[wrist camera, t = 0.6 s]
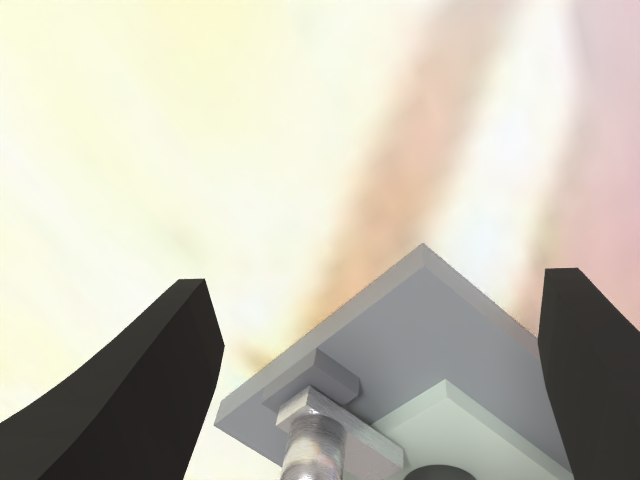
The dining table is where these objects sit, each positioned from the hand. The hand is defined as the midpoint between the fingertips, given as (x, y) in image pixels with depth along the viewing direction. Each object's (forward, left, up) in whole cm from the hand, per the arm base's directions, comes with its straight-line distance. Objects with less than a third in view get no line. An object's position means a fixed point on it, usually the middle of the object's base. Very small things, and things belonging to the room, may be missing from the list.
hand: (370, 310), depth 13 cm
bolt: (-8, +10, -7) cm, 15 cm away
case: (-12, +10, -10) cm, 18 cm away
